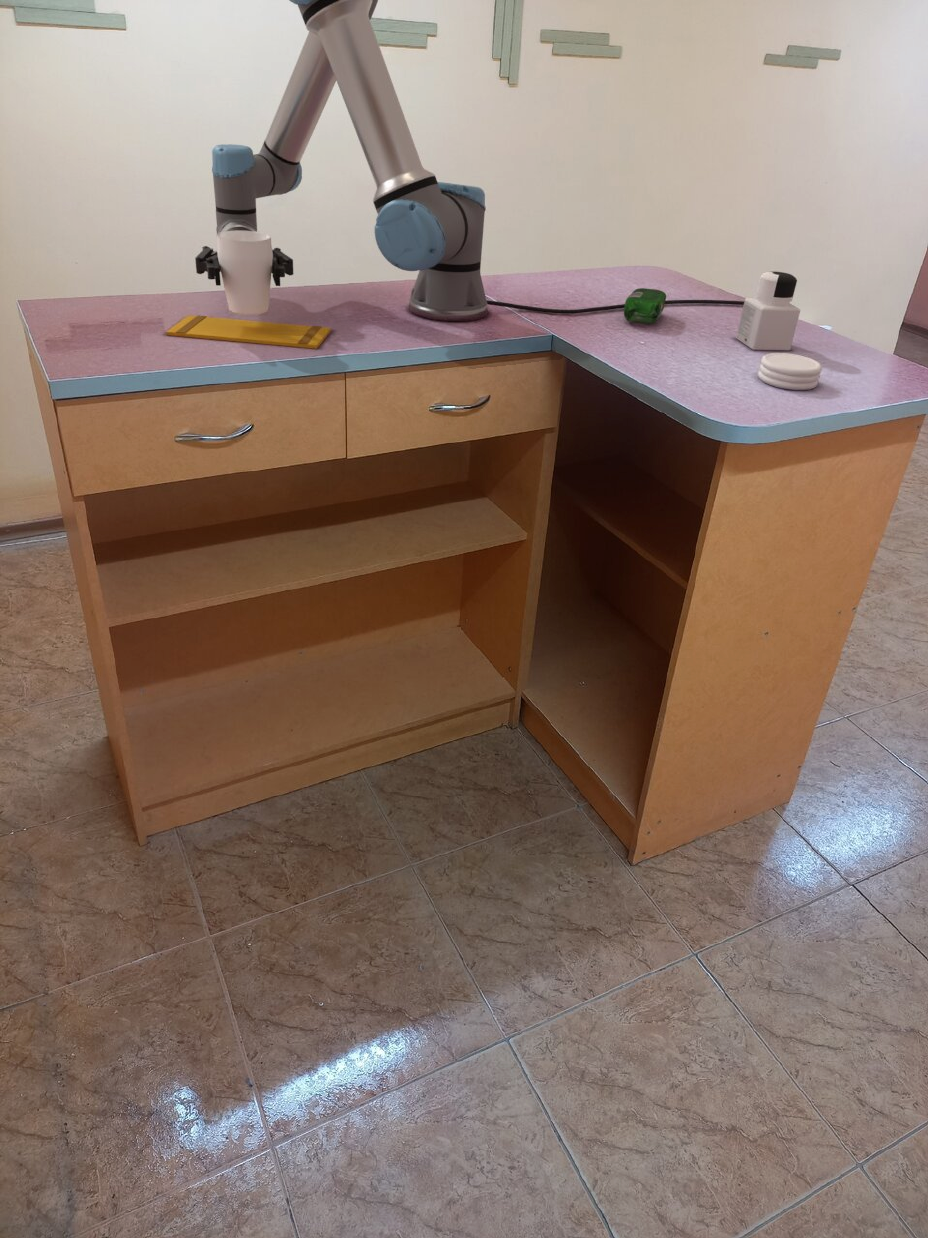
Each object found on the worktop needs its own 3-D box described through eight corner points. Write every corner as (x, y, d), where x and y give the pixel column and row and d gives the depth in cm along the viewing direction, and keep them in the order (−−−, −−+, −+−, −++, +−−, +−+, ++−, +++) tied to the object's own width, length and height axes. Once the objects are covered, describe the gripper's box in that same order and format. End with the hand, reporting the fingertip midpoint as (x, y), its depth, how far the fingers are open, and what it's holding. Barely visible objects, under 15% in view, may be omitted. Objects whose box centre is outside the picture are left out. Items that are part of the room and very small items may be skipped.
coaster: (814, 395, 147) (820, 374, 145) (753, 383, 150) (758, 363, 148) (819, 378, 155) (825, 358, 153) (761, 368, 158) (766, 348, 156)
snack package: (618, 326, 176) (622, 299, 173) (631, 307, 188) (636, 282, 185) (653, 332, 174) (659, 304, 171) (665, 313, 187) (670, 287, 184)
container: (772, 339, 175) (789, 269, 168) (790, 350, 169) (809, 278, 162) (735, 338, 174) (751, 268, 166) (752, 350, 167) (769, 277, 160)
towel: (330, 331, 161) (330, 327, 160) (316, 348, 151) (316, 344, 151) (188, 318, 162) (188, 314, 161) (166, 335, 153) (165, 330, 152)
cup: (269, 318, 151) (265, 243, 144) (215, 314, 151) (209, 238, 144) (279, 305, 158) (276, 232, 152) (228, 301, 158) (223, 228, 152)
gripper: (300, 269, 170) (314, 300, 152) (181, 268, 165) (181, 300, 147) (299, 227, 166) (313, 254, 148) (177, 224, 160) (176, 251, 143)
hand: (248, 277), depth 147 cm, fingers closed on cup, 9 cm apart
